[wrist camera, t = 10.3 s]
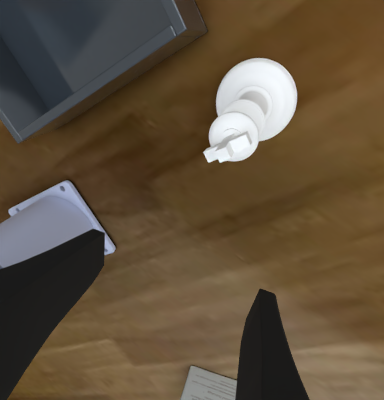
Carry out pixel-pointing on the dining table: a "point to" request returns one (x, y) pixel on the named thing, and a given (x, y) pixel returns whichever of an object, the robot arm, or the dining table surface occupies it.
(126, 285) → the dining table surface
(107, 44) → the square open tray
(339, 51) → the dining table surface
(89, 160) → the dining table surface
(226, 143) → the chess piece
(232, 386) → the product box
